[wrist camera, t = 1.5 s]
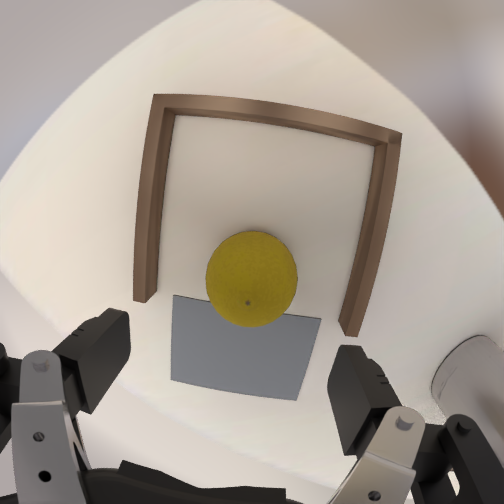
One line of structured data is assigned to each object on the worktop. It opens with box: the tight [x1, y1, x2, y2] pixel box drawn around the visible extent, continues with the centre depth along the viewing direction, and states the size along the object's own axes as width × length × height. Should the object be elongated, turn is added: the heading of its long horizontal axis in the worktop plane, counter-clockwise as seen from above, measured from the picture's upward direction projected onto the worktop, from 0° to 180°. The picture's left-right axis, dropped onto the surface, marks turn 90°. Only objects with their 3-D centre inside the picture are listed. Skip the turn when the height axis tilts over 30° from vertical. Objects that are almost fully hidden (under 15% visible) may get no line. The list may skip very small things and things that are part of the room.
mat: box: [171, 295, 321, 400], centre depth 24 cm, size 12×9×1 cm
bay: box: [133, 94, 402, 337], centre depth 20 cm, size 17×15×2 cm
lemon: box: [206, 231, 298, 327], centre depth 18 cm, size 6×6×8 cm
